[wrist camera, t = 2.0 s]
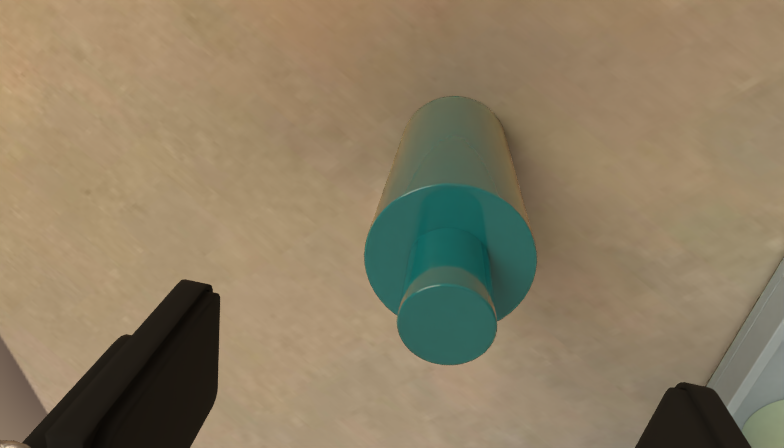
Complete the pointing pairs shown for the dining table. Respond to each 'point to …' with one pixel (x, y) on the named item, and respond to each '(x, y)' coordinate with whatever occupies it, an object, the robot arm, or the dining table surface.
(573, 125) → the dining table surface
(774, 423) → the bottle
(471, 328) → the loose bottle
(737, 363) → the tray
